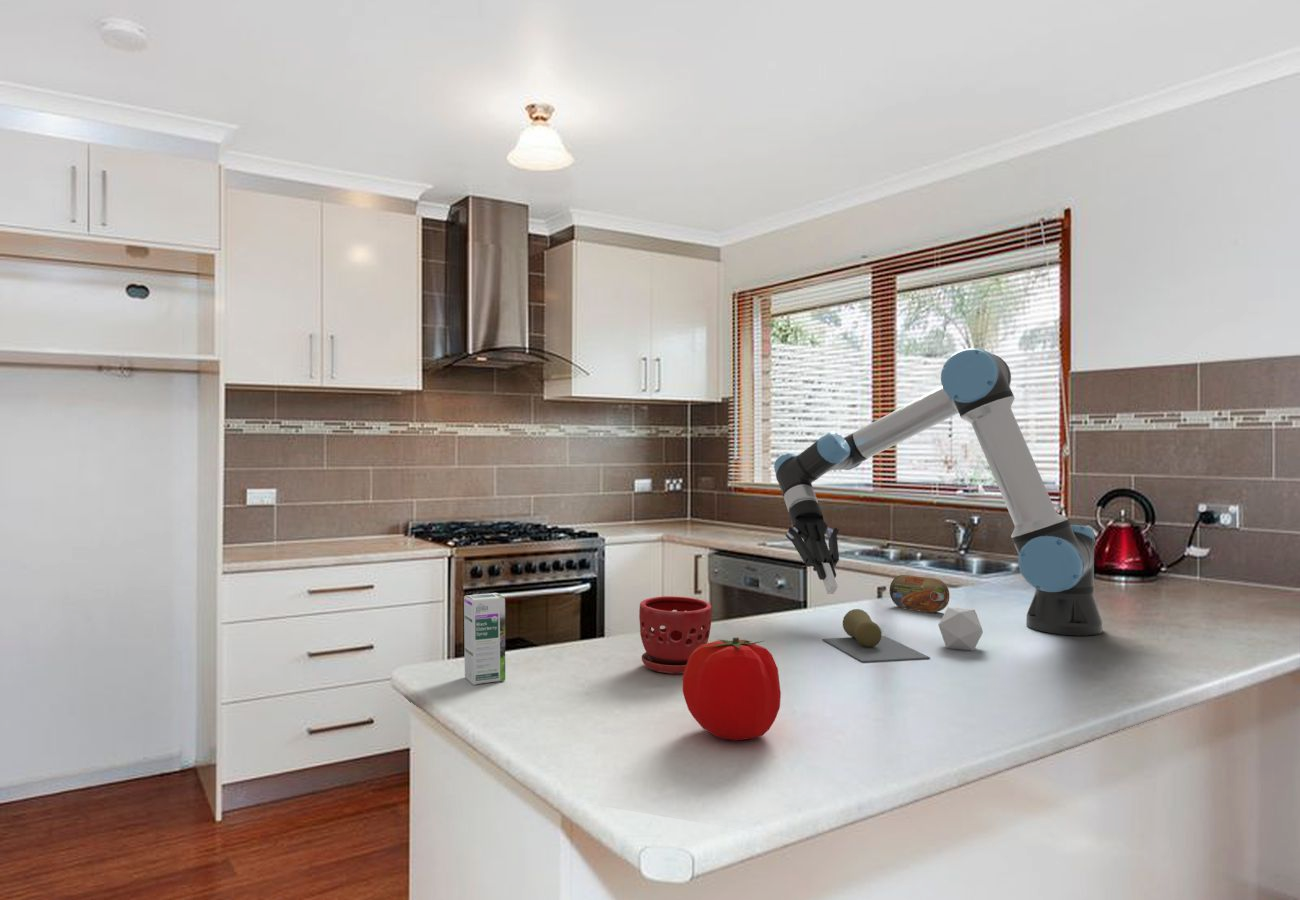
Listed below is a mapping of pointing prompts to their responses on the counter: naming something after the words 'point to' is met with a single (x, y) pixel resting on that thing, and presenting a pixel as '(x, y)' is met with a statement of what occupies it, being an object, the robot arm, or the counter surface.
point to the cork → (862, 628)
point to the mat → (876, 650)
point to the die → (960, 628)
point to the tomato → (732, 688)
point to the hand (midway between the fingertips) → (832, 590)
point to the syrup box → (484, 638)
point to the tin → (919, 593)
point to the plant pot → (673, 631)
